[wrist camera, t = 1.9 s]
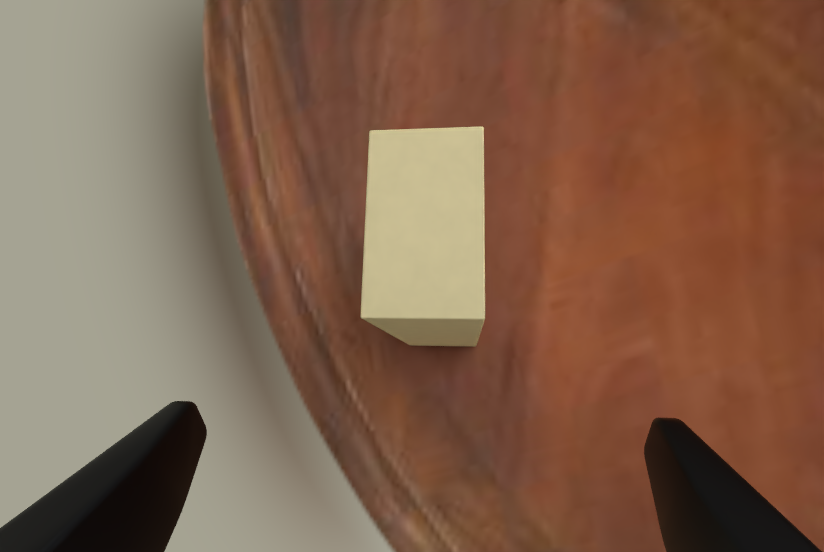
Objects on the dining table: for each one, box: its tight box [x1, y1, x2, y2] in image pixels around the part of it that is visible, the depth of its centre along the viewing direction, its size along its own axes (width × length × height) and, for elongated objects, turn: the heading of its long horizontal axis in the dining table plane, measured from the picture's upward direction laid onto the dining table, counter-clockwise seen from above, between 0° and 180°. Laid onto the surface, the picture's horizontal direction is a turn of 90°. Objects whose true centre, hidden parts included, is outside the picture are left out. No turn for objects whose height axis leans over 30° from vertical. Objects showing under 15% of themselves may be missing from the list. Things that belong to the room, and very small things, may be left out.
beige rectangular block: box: [361, 127, 485, 346], centre depth 17 cm, size 5×3×10 cm, turn 179°
